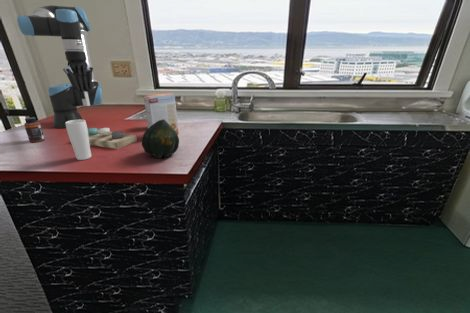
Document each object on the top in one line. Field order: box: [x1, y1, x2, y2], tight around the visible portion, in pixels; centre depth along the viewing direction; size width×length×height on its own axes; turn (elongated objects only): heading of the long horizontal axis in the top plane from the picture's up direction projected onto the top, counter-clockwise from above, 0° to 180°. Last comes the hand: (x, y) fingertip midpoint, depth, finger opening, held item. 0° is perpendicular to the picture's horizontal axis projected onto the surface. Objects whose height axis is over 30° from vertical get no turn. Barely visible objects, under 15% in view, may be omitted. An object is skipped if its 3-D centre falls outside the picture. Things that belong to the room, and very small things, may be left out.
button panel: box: [89, 131, 138, 150], centre depth 118 cm, size 26×12×3 cm, turn 69°
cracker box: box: [143, 92, 179, 135], centre depth 124 cm, size 14×6×21 cm, turn 135°
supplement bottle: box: [23, 116, 46, 143], centre depth 117 cm, size 6×6×11 cm
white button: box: [97, 127, 111, 135], centre depth 117 cm, size 5×5×2 cm
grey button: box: [111, 130, 125, 138], centre depth 114 cm, size 5×5×2 cm
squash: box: [141, 119, 180, 159], centre depth 101 cm, size 14×15×15 cm
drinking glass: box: [65, 118, 92, 161], centre depth 97 cm, size 7×7×15 cm
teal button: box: [87, 127, 99, 135], centre depth 119 cm, size 5×5×2 cm
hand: (86, 105), depth 116 cm, fingers closed
